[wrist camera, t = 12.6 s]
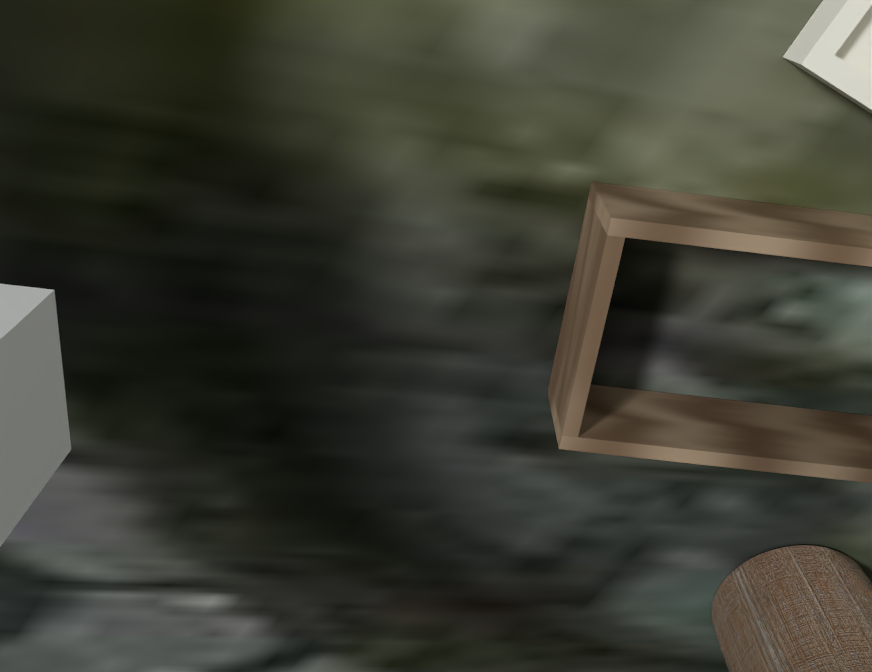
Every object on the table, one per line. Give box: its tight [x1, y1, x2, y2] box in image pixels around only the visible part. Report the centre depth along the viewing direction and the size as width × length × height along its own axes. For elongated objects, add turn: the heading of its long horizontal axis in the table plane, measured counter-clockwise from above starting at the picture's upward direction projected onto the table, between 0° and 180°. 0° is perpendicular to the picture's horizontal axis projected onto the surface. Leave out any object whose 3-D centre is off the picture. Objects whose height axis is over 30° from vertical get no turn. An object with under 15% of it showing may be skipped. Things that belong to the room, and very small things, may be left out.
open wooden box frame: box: [548, 182, 872, 483], centre depth 40 cm, size 20×12×6 cm, turn 83°
